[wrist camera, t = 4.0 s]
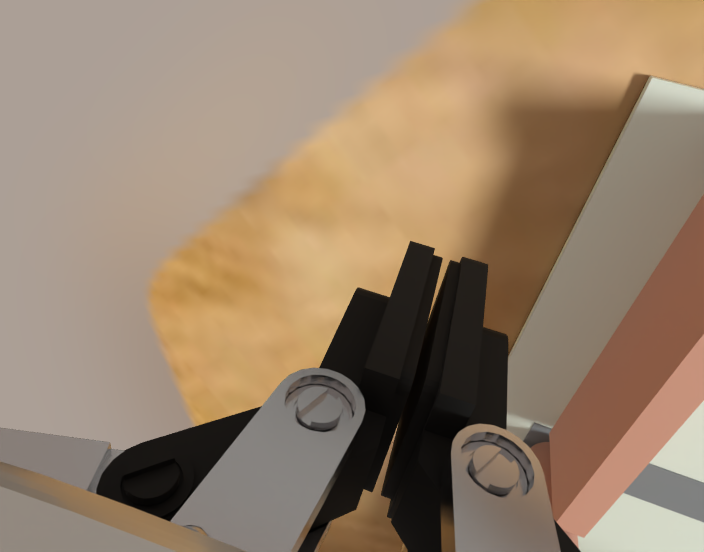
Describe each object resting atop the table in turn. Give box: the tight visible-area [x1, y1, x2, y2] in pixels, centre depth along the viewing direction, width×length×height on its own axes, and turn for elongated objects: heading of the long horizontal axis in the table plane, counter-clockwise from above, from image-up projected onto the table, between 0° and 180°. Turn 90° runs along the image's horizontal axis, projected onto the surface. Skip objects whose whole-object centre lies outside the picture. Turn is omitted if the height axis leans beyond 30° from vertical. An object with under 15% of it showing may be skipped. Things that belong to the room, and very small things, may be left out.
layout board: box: [507, 76, 704, 552], centre depth 20 cm, size 18×28×1 cm, turn 169°
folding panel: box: [531, 194, 704, 549], centre depth 15 cm, size 15×2×5 cm, turn 169°
